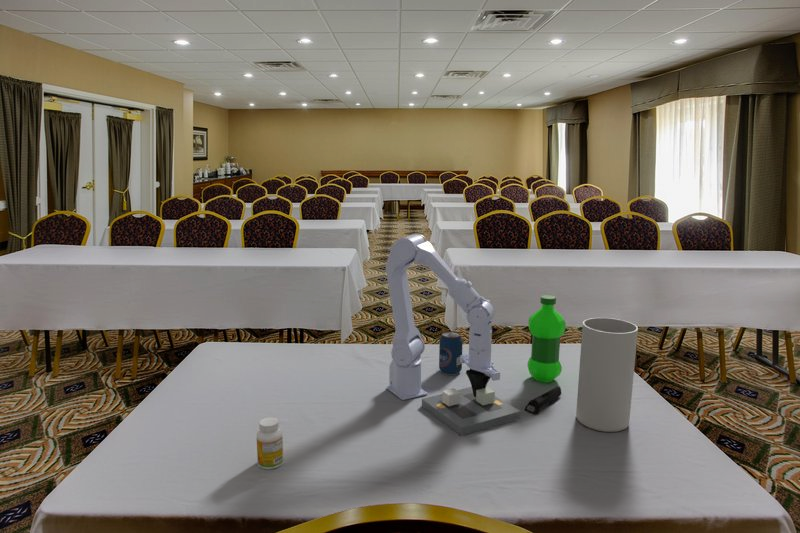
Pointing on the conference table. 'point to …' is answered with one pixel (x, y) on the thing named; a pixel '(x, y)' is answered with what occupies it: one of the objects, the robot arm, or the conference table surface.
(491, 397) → the tab sage
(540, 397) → the electric trimmer
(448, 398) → the light grey block
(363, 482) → the conference table surface
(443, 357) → the soda can
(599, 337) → the cylinder vase
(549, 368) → the plastic bottle
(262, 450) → the supplement bottle
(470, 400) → the switch panel
